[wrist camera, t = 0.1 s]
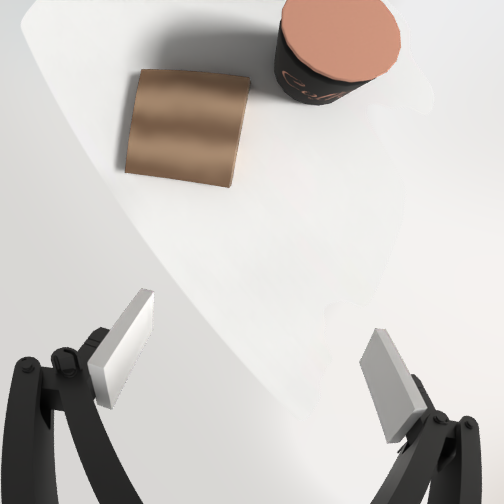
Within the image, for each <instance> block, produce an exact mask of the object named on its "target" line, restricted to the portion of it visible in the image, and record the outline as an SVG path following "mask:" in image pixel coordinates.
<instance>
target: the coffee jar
mask: <svg viewBox="0 0 504 504" xmlns="http://www.w3.org/2000/svg"><path fill="white" fill-rule="evenodd" d="M400 48H401V40H400V31H399V28H398V26H397V23H396V21H395V18H394V16H393V15H392V13H391V12H390V11H389V10H388V8H387V7H386V6H385V5H384V3H383V2H382V1H380V0H287V1H286V3H285V5H284V7H283V9H282V19H281V21H280V26H279V33H278V40H277V48H276V55H275V67H274V72H275V75H276V78H277V81H278V83H279V85H280V86H281V87H282V89H283V90H284V92H286V93H287V94H288V95H289V96H291V97H292V98H293V99H295V100H297V101H300V102H302V103H305V104H309V105H318V106H319V105H324V104H329V103H332V102H334V101H335V100H337V99H339V98H341V97H343V96H344V95H346V94H348V93H350V92H351V91H353V90H355V89H357V88H358V87H360V86H362V85H364V84H366V83H368V82H369V81H371V80H373V79H375V78H376V77H378V76H380V75H382V74H384V73H386V72H387V71H388V70H389V69H390V68H391V67H392V65H393V64H394V63H395V62H396V60H397V57H398V54H399V51H400Z"/></svg>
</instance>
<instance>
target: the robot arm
mask: <svg viewBox="0 0 504 504" xmlns="http://www.w3.org/2000/svg"><path fill="white" fill-rule="evenodd" d="M153 306H154V291H151V290H147V289H143V288H142V289H141V290H140V291H139V292H138V293H137V295H136V296H135V297H134V299H133V300H132V301H131V303H130V304H129V305H128V307H127V308H126V309H125V311H124V312H123V313H122V315H121V316H120V318H119V319H118V320H117V321H116V323H115V324H114V326H113V327H112V328H111V330H109V329H106V328H102V327H100V328H98V329H97V330H95V331H93V332H92V333H91V335H90V336H89V337H88V339H87V340H86V341H85V342H84V344H83V345H82V346H81V348H80V349H79V350H78V352H77V351H76V350H74V349H72V348H69V347H63V348H60V349H57V350H56V351H54V352H53V354H52V355H51V362H52V365H53V368H49V367H41V365H40V363H39V361H38V360H37V359H35V358H34V357H24V358H21V359H20V360H19V361H18V362H17V363H16V365H15V368H14V373H13V378H12V383H11V388H10V393H9V398H8V404H7V411H6V418H5V426H4V435H3V446H2V464H1V496H2V497H1V498H2V504H59V503H58V495H57V487H56V475H55V459H54V410H59V411H64V412H65V415H66V419H67V422H68V425H69V428H70V431H71V435H72V438H73V441H74V444H75V446H76V449H77V452H78V455H79V457H80V460H81V462H82V465H83V468H84V470H85V472H86V475H87V477H88V480H89V482H90V484H91V486H92V489H93V491H94V493H95V495H96V497H97V499H98V501H99V503H100V504H143V502H142V501H141V499H140V497H139V496H138V494H137V492H136V491H135V489H134V487H133V485H132V484H131V482H130V480H129V478H128V476H127V474H126V472H125V471H124V469H123V467H122V465H121V463H120V461H119V459H118V457H117V455H116V453H115V451H114V449H113V446H112V444H111V442H110V440H109V437H108V435H107V433H106V431H105V428H104V426H103V424H102V421H101V419H100V416H99V414H98V412H97V409H96V406H95V404H94V399H95V397H96V401H97V404H98V405H101V406H103V407H106V408H109V409H113V407H114V405H115V403H116V401H117V399H118V397H119V395H120V393H121V391H122V389H123V386H124V384H125V383H126V381H127V379H128V377H129V375H130V373H131V371H132V369H133V367H134V365H135V363H136V361H137V359H138V357H139V356H140V354H141V352H142V350H143V348H144V346H145V344H146V342H147V340H148V339H149V337H150V335H151V333H152V331H153ZM360 366H361V369H362V371H363V374H364V377H365V379H366V382H367V385H368V388H369V390H370V393H371V396H372V399H373V402H374V405H375V408H376V411H377V413H378V417H379V420H380V423H381V425H382V428H383V431H384V435H385V438H386V441H387V443H398V442H400V441H401V440H402V439H403V438H404V437H405V435H406V438H407V440H408V441H407V442H406V443H405V444H404V445H403V446H402V447H401V449H400V450H399V451H398V452H397V453H399V452H400V451H401V452H400V454H399V456H398V457H397V459H396V461H395V463H394V465H393V467H392V469H391V470H390V472H389V474H388V476H387V477H386V479H385V481H384V483H383V484H382V486H381V488H380V489H379V491H378V493H377V494H376V496H375V497H374V499H373V500H372V502H371V503H370V504H420V503H421V501H422V499H423V497H424V495H425V492H426V490H427V488H428V485H429V483H430V480H431V484H430V491H429V497H428V503H427V504H481V497H482V466H481V448H480V435H479V426H478V423H477V422H476V420H475V419H474V418H472V417H470V416H464V417H462V419H461V420H460V421H459V422H456V421H450V420H449V418H448V417H447V415H446V414H445V413H443V412H441V411H438V410H435V408H434V406H433V404H432V402H431V400H430V398H429V396H428V394H427V393H426V391H425V389H424V387H423V385H422V383H421V381H420V380H419V379H418V378H417V377H416V376H415V375H414V374H410V373H409V371H408V369H407V367H406V365H405V363H404V361H403V359H402V358H401V356H400V354H399V352H398V350H397V349H396V347H395V345H394V343H393V341H392V339H391V338H390V336H389V334H388V332H387V331H386V330H385V329H377V328H375V330H374V333H373V335H372V337H371V339H370V341H369V343H368V345H367V348H366V350H365V352H364V354H363V356H362V358H361V360H360Z"/></svg>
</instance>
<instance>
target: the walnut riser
mask: <svg viewBox="0 0 504 504" xmlns="http://www.w3.org/2000/svg"><path fill="white" fill-rule="evenodd" d="M250 83H251V82H250V78H249V77H242V76H235V75H227V74H218V73H209V72H197V71H183V70H159V69H142V70H141V74H140V79H139V83H138V88H137V93H136V99H135V104H134V110H133V116H132V122H131V128H130V135H129V142H128V150H127V158H126V167H125V173H132V174H140V175H148V176H155V177H163V178H170V179H177V180H183V181H190V182H196V183H203V184H209V185H215V186H221V187H227V188H229V187H230V186H231V184H232V178H233V172H234V167H235V161H236V156H237V150H238V145H239V139H240V134H241V129H242V123H243V118H244V113H245V108H246V103H247V98H248V93H249V88H250Z"/></svg>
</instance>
